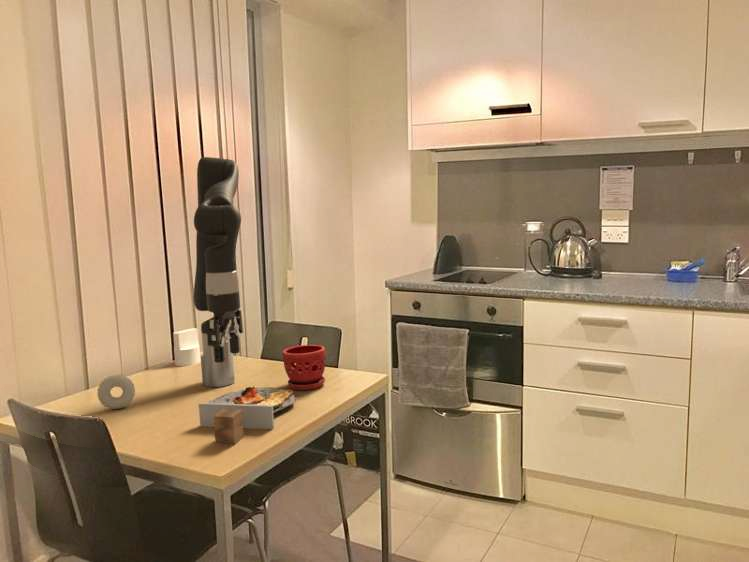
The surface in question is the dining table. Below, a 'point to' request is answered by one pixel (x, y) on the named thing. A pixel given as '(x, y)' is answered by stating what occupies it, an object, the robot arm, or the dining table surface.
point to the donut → (116, 401)
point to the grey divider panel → (250, 414)
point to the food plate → (259, 397)
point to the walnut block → (228, 427)
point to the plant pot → (305, 366)
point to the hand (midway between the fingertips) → (227, 357)
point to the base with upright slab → (186, 347)
